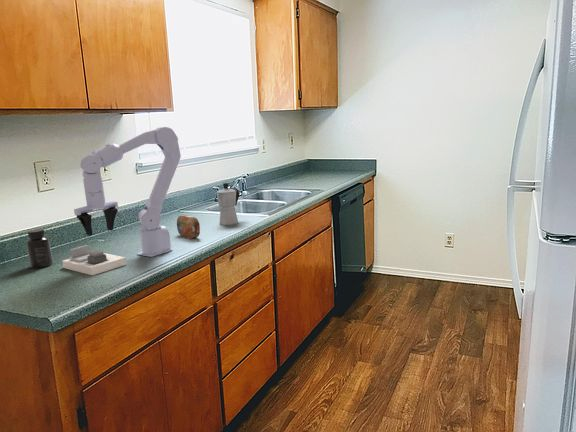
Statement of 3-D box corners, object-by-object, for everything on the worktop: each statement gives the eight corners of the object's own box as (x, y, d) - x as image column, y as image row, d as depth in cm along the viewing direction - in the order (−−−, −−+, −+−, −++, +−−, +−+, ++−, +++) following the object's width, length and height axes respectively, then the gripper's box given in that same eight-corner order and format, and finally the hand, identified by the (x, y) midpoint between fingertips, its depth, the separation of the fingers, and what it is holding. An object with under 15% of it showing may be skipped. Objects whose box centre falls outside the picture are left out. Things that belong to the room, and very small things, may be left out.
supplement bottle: (57, 261, 159) (51, 227, 156) (47, 267, 152) (41, 232, 150) (36, 263, 158) (30, 229, 156) (26, 269, 152) (20, 233, 149)
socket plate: (96, 258, 160) (95, 249, 160) (126, 264, 150) (125, 255, 150) (63, 267, 151) (61, 258, 150) (92, 275, 141) (91, 265, 140)
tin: (177, 234, 189) (174, 214, 188) (184, 233, 191) (182, 213, 190) (195, 240, 178) (193, 218, 176) (202, 238, 180) (200, 217, 178)
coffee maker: (227, 227, 198) (224, 185, 194) (211, 225, 202) (208, 184, 199) (248, 220, 210) (245, 180, 206) (233, 218, 215) (229, 180, 211)
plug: (100, 266, 150) (98, 249, 149) (107, 267, 148) (105, 251, 147) (89, 269, 147) (86, 253, 146) (96, 271, 145) (93, 254, 144)
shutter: (88, 254, 156) (86, 244, 155) (99, 256, 152) (97, 246, 152) (69, 259, 151) (67, 249, 150) (80, 262, 147) (78, 251, 146)
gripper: (107, 188, 159) (112, 226, 162) (66, 195, 148) (73, 236, 151) (119, 189, 155) (124, 228, 158) (78, 195, 144) (84, 238, 147)
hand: (100, 232), depth 154 cm, fingers open, 7 cm apart
